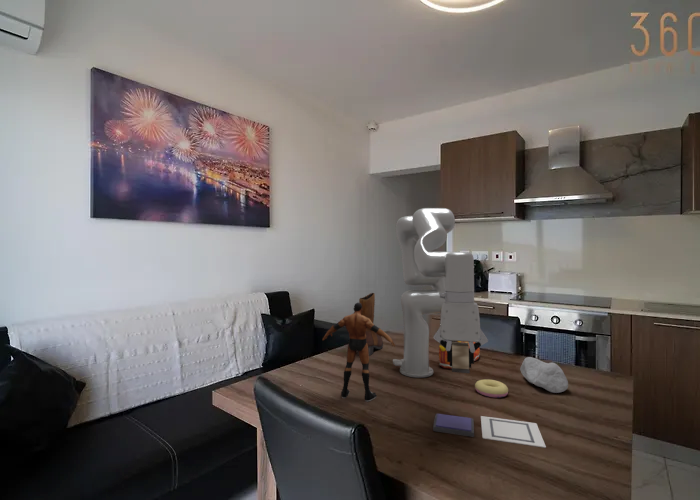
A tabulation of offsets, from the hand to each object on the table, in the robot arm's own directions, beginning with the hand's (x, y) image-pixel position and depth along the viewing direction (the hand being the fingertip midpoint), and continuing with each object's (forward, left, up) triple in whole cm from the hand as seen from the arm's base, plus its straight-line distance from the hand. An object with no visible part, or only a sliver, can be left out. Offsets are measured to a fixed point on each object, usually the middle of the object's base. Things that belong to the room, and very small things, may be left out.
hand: (460, 364), depth 95 cm
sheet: (+12, 0, -16) cm, 20 cm away
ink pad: (-2, -2, -16) cm, 16 cm away
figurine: (-32, +9, -16) cm, 37 cm away
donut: (+9, +25, -16) cm, 31 cm away
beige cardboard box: (0, 0, -1) cm, 1 cm away
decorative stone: (+26, +36, -16) cm, 48 cm away
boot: (-42, +62, -16) cm, 76 cm away
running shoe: (0, +56, -16) cm, 58 cm away
